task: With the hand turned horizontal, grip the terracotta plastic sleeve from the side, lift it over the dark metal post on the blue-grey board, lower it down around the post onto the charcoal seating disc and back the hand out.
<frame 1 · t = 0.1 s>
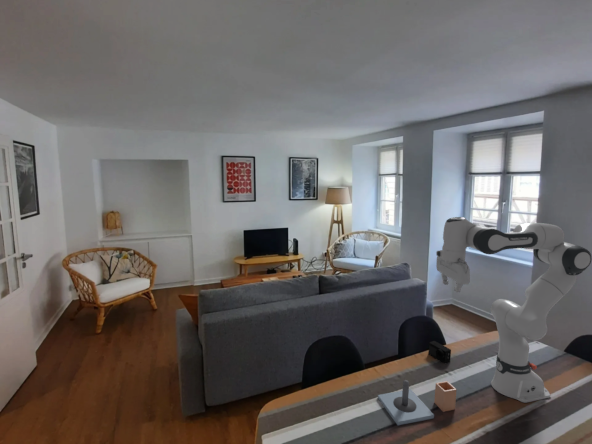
hand: (451, 287, 139), 48 cm above the table, tool pointing down, fingers open, 8 cm apart
digital camera: (438, 358, 173), on the table
post board: (404, 407, 136), on the table
sleeve: (444, 405, 137), on the table
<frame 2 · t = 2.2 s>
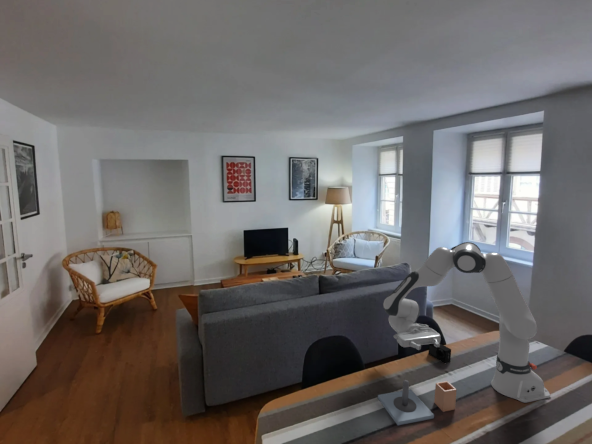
hand: (429, 346, 146), 20 cm above the table, tool horizontal, fingers open, 8 cm apart
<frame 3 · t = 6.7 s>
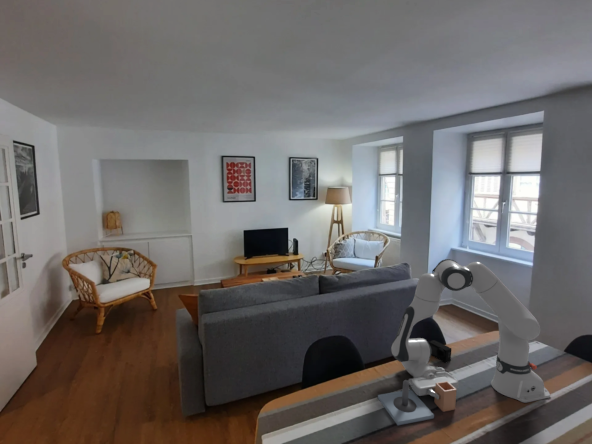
hand: (446, 396, 136), 5 cm above the table, tool horizontal, fingers closed on sleeve, 6 cm apart
sleeve: (444, 405, 137), on the table, touching gripper
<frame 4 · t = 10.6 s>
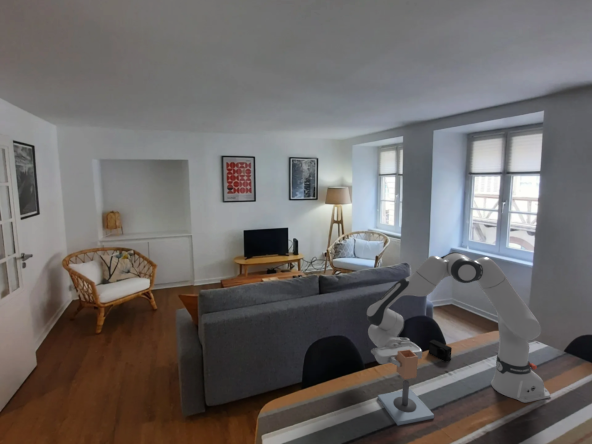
hand: (408, 364, 132), 20 cm above the table, tool horizontal, fingers closed on sleeve, 6 cm apart
sleeve: (406, 374, 134), point 15 cm above the table, touching gripper
when the fingers open (8 cm above the table, at t = 14.5 s): sleeve drops 1 cm, resting on post board.
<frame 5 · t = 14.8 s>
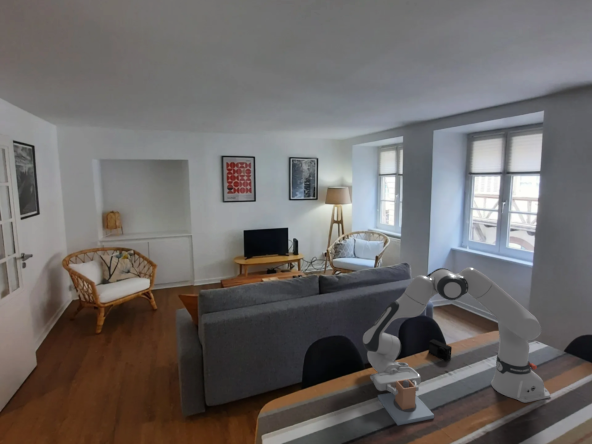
hand: (406, 391, 134), 8 cm above the table, tool horizontal, fingers open, 8 cm apart
sleeve: (404, 403, 136), point 2 cm above the table, touching post board
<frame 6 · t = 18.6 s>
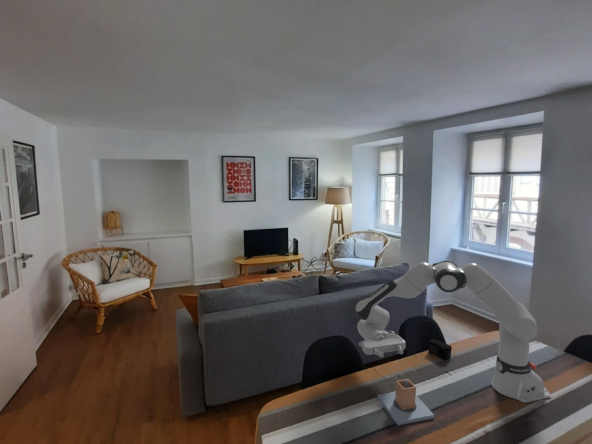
hand: (392, 354, 145), 17 cm above the table, tool horizontal, fingers open, 8 cm apart
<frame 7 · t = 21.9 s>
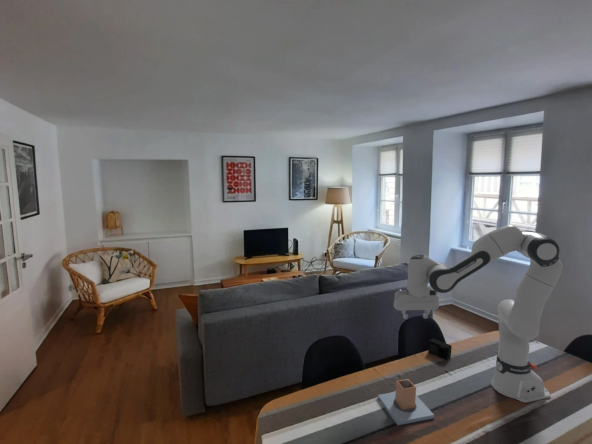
hand: (415, 318, 153), 29 cm above the table, tool pointing down, fingers open, 8 cm apart
at the end: sleeve 0.0 cm from the post board (horizontally); sleeve point 1.7 cm above the table; sleeve tilted 0° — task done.
